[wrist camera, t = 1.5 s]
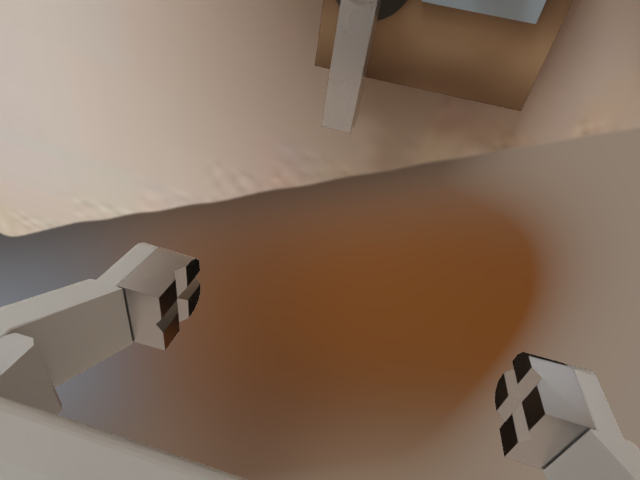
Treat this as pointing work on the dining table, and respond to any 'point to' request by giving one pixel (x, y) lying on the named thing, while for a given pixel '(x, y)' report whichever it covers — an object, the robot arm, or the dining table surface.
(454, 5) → the cover
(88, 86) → the dining table surface
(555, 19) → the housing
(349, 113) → the lever handle
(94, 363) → the robot arm
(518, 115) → the dining table surface
